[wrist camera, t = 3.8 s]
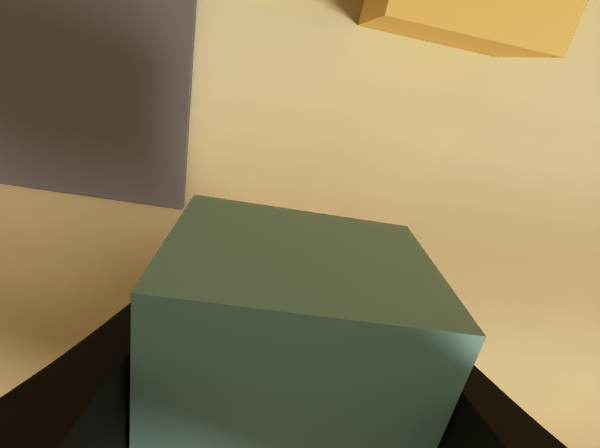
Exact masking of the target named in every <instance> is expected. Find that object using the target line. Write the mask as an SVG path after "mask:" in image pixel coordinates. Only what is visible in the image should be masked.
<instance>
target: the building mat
mask: <svg viewBox="0 0 600 448" xmlns="http://www.w3.org/2000/svg"><path fill="white" fill-rule="evenodd" d="M196 3H197V0H0V184H7V185H14V186H21V187H28V188H35V189H41V190H48V191H55V192H62V193H69V194H76V195H83V196H90V197H97V198H104V199H111V200H118V201H125V202H132V203H139V204H146V205H153V206H160V207H167V208H174V209H181V210H182V209H183V208H184V198H185V181H186V165H187V149H188V133H189V116H190V100H191V84H192V68H193V52H194V35H195V19H196Z"/></svg>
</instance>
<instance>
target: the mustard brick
mask: <svg viewBox="0 0 600 448" xmlns="http://www.w3.org/2000/svg"><path fill="white" fill-rule="evenodd" d="M588 1H589V0H364V1H363V6H362V10H361V14H360V19H359V23H358V26H362V27H367V28H371V29H375V30H380V31H384V32H388V33H393V34H397V35H401V36H406V37H410V38H414V39H419V40H423V41H427V42H432V43H436V44H440V45H445V46H449V47H453V48H458V49H462V50H466V51H470V52H475V53H479V54H483V55H488V56H492V57H551V58H564V57H565V55H566V52H567V50H568V48H569V45H570V43H571V41H572V38H573V36H574V34H575V31H576V29H577V27H578V24H579V22H580V19H581V17H582V15H583V12H584V10H585V8H586V5H587V3H588Z"/></svg>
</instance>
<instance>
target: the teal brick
mask: <svg viewBox="0 0 600 448" xmlns="http://www.w3.org/2000/svg"><path fill="white" fill-rule="evenodd" d="M485 338H486V336H485V334H484V333H483V332H482V330H481V329H480V327H479V326H478V325H477V323H476V322H475V320H474V319H473V318H472V316H471V315H470V313H469V312H468V311H467V309H466V308H465V306H464V305H463V304H462V302H461V301H460V300H459V298H458V297H457V295H456V294H455V293H454V291H453V290H452V288H451V287H450V286H449V284H448V283H447V281H446V280H445V279H444V277H443V276H442V274H441V273H440V272H439V270H438V269H437V267H436V266H435V265H434V263H433V262H432V260H431V259H430V258H429V256H428V255H427V254H426V252H425V251H424V249H423V248H422V247H421V245H420V244H419V242H418V241H417V240H416V238H415V237H414V235H413V234H412V233H411V231H410V230H409V228H408V227H407V226H401V225H394V224H387V223H380V222H374V221H367V220H360V219H354V218H347V217H340V216H334V215H327V214H320V213H313V212H307V211H300V210H293V209H287V208H280V207H273V206H267V205H260V204H253V203H247V202H240V201H233V200H226V199H220V198H213V197H206V196H200V195H194V196H193V198H192V199H191V201H190V203H189V204H188V206H187V207H186V209H185V210H184V212H183V213H182V215H181V216H180V218H179V220H178V221H177V223H176V224H175V226H174V227H173V229H172V230H171V232H170V233H169V235H168V237H167V238H166V240H165V241H164V243H163V244H162V246H161V247H160V249H159V250H158V252H157V253H156V255H155V257H154V258H153V260H152V261H151V263H150V264H149V266H148V267H147V269H146V270H145V272H144V274H143V275H142V277H141V278H140V280H139V281H138V283H137V284H136V286H135V287H134V289H133V291H132V292H131V341H130V448H437V447H438V445H439V443H440V440H441V438H442V436H443V434H444V431H445V429H446V427H447V424H448V422H449V420H450V418H451V415H452V413H453V411H454V409H455V406H456V404H457V402H458V399H459V397H460V395H461V393H462V390H463V388H464V386H465V383H466V381H467V379H468V377H469V374H470V372H471V370H472V367H473V365H474V363H475V361H476V358H477V356H478V354H479V352H480V349H481V347H482V345H483V342H484V340H485Z"/></svg>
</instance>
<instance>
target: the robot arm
mask: <svg viewBox="0 0 600 448" xmlns="http://www.w3.org/2000/svg"><path fill="white" fill-rule="evenodd" d="M130 341H131V303H130V304H129V305H127V306H126V307H125V308H123V309H122V310H121V311H120V312H118V313H117V314H116V315H114V316H113V317H112V318H111V319H109V320H108V321H107V322H106V323H104V324H103V325H102V326H100V327H99V328H98V329H97V330H95V331H94V332H93V333H91V334H90V335H89V336H87V337H86V338H85V339H83V340H82V341H81V342H79V343H78V344H77V345H75V346H74V347H72V348H71V349H70V350H68V351H67V352H66V353H64V354H63V355H62V356H60V357H59V358H58V359H56V360H55V361H53V362H52V363H51V364H49V365H48V366H46V367H45V368H44V369H42V370H41V371H39V372H38V373H36V374H35V375H33V376H32V377H30V378H29V379H27V380H26V381H24V382H23V383H21V384H20V385H18V386H17V387H15V388H14V389H13V390H11V391H10V392H8V393H7V394H5V395H4V396H2V397H1V398H0V448H130ZM437 448H567V447H566V446H565V445H564V444H562V443H561V442H560V441H559V440H558V439H556V438H555V437H554V436H553V435H552V434H550V433H549V432H548V431H547V430H546V429H544V428H543V427H542V426H541V425H540V424H539V423H538V422H536V421H535V420H534V419H533V418H532V417H531V416H529V415H528V414H527V413H526V412H525V411H524V410H523V409H522V408H520V407H519V406H518V405H517V404H516V403H515V402H514V401H513V400H511V399H510V398H509V397H508V396H507V395H506V394H505V393H504V392H503V391H502V390H500V389H499V388H498V387H497V386H496V385H495V384H494V383H493V382H492V381H491V380H490V379H488V378H487V377H486V376H485V375H484V374H483V373H482V372H481V371H480V370H479V369H478V368H476V367H475V366H474V365H473V367H472V370H471V372H470V374H469V377H468V379H467V381H466V383H465V386H464V388H463V390H462V393H461V395H460V397H459V399H458V402H457V404H456V406H455V409H454V411H453V413H452V415H451V418H450V420H449V422H448V424H447V427H446V429H445V431H444V434H443V436H442V438H441V440H440V443H439V445H438V447H437Z"/></svg>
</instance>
